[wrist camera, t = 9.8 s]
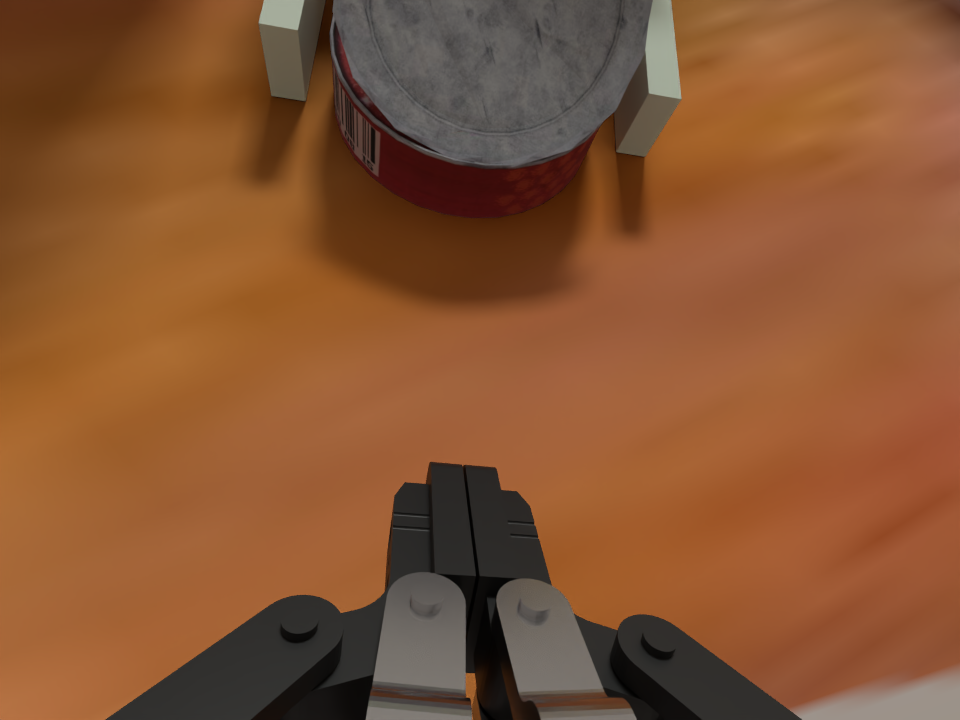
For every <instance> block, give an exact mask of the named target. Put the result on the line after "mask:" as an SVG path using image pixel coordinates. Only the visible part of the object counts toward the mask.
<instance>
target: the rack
mask: <svg viewBox="0 0 960 720" xmlns="http://www.w3.org/2000/svg"><path fill="white" fill-rule="evenodd" d="M325 1H326V0H264V3H263V7H262V11H261V15H260V19H259V29H260V34H261V40H262V46H263V51H264V57H265V62H266V68H267V74H268V79H269V85H270V91H271V96H276V97H282V98H288V99H294V100H300V101H306V97H307V92H308V87H309V82H310V77H311V72H312V67H313V62H314V57H315V52H316V47H317V42H318V37H319V31H320V26H321V21H322V16H323V11H324V6H325ZM680 101H681V90H680V81H679V71H678V62H677V53H676V43H675V34H674V24H673V15H672V6H671V0H653V2H652V7H651V12H650V17H649V23H648V31H647V39H646V47H645V55H644V56H643V58H642V60H641V62H640V64H639V66H638V68H637V69H636V71H635V73H634V75H633V77H632V79H631V81H630V82H629V84H628V86H627V89H626V91H625V93H624V95H623V97H622V99H621V101H620V103H619V105H618V107H617V109H616V111H615V112H614V122H615V141H616V152H618V153H624V154H631V155H637V156H643V157H645V156H646V155H647V153H648V152H649V150H650V148H651V147H652V145H653V144H654V142H655V140H656V139H657V137H658V136H659V134H660V132H661V131H662V129H663V128H664V126H665V125H666V123H667V121H668V120H669V118H670V117H671V115H672V113H673V112H674V110H675V109H676V107H677V105H678V104H679V102H680Z"/></svg>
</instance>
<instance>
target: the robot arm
mask: <svg viewBox="0 0 960 720" xmlns="http://www.w3.org/2000/svg"><path fill="white" fill-rule="evenodd" d="M465 673H475V677H476V692H475V696H474V701H473V706H472V707H471V700H470V698H466V694H465ZM472 714H473V720H802V719H800V718H799V717H798V716H796V715H795V714H794V713H792V712H791V711H790V710H788V709H787V708H786V707H784V706H783V705H782V704H780V703H779V702H778V701H776V700H775V699H773V698H772V697H771V696H769V695H768V694H767V693H765V692H764V691H763V690H761V689H760V688H759V687H757V686H756V685H755V684H753V683H752V682H750V681H749V680H748V679H746V678H745V677H744V676H742V675H741V674H740V673H738V672H737V671H736V670H734V669H733V668H732V667H730V666H729V665H727V664H726V663H725V662H723V661H722V660H721V659H719V658H718V657H717V656H715V655H714V654H713V653H711V652H710V651H709V650H707V649H706V648H704V647H703V646H702V645H700V644H699V643H698V642H696V641H695V640H694V639H692V638H691V637H690V636H688V635H687V634H686V633H684V632H683V631H681V630H680V629H679V628H677V627H676V626H674V625H673V624H671V623H670V622H668V621H666V620H664V619H661V618H659V617H655V616H651V615H633V616H630V617H628V618H626V619H624V620H623V621H622V622H621V624H620V626H619V628H618V630H615V629H612V628H608V627H605V626H602V625H599V624H596V623H593V622H590V621H587V620H585V619H583V618H581V617H579V616H577V615H575V614H574V613H573V611H572V608H571V606H570V604H569V602H568V600H567V599H566V598H565V596H564V595H563V594H562V593H561V592H560V591H559V590H557V589H556V588H554V587H553V586H552V585H551V581H550V577H549V574H548V570H547V566H546V563H545V559H544V556H543V552H542V548H541V545H540V541H539V539H538V534H537V530H536V527H535V526H534V519H533V516H532V512H531V508H530V506H529V505H528V504H527V502H526V501H525V500H524V499H523V498H522V497H521V495H520V494H519V493H518V492H517V491H505V490H501V487H500V483H499V478H498V473H497V469H496V468H495V467H483V466H472V465H464V466H462V465H459V464H448V463H437V462H430V463H429V467H428V473H427V480H426V484H419V483H406V482H405V483H404V484H403V486H402V487H401V488H400V489H399V491H398V492H397V493H396V495H395V497H394V504H393V512H392V520H391V527H390V535H389V543H388V550H387V565H386V580H385V592H384V594H383V595H382V596H381V597H380V598H379V599H377V600H376V601H375V602H373V603H372V604H370V605H368V606H366V607H363V608H361V609H357V610H354V611H349V612H344V613H340V611H339V610H338V609H337V608H336V607H335V606H334V605H333V604H332V603H330V602H329V601H327V600H325V599H323V598H320V597H316V596H311V595H296V596H290V597H287V598H283V599H281V600H278V601H276V602H274V603H273V604H271V605H270V606H268V607H267V608H265V609H264V610H262V611H261V612H259V613H258V614H257V615H255V616H254V617H252V618H251V619H249V620H248V621H247V622H245V623H244V624H242V625H241V626H239V627H238V628H236V629H235V630H234V631H232V632H231V633H229V634H228V635H226V636H225V637H224V638H222V639H221V640H219V641H218V642H216V643H215V644H213V645H212V646H211V647H209V648H208V649H206V650H205V651H203V652H202V653H201V654H199V655H198V656H196V657H195V658H193V659H192V660H190V661H189V662H188V663H186V664H185V665H183V666H182V667H180V668H179V669H178V670H176V671H175V672H173V673H172V674H170V675H169V676H167V677H166V678H165V679H163V680H162V681H160V682H159V683H157V684H156V685H155V686H153V687H152V688H150V689H149V690H147V691H146V692H144V693H143V694H142V695H140V696H139V697H137V698H136V699H134V700H133V701H132V702H130V703H129V704H127V705H126V706H124V707H123V708H121V709H120V710H119V711H117V712H116V713H114V714H113V715H111V716H110V717H109V718H107V719H106V720H472Z"/></svg>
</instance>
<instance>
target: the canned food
mask: <svg viewBox="0 0 960 720" xmlns="http://www.w3.org/2000/svg"><path fill="white" fill-rule="evenodd" d="M652 2H653V0H334V1H333V10H332V12H333V17H332V23H331V28H330V33H329V35H330V47H331V57H332V68H333V86H334V103H335V115H336V120H337V123H338V126H339V129H340V132H341V135H342V138H343V140H344V142H345V143H346V145H347V147H348V148H349V150H350V151H351V153H352V155H353V156H354V158H355V159H356V161H357V162H358V163H359V164H360V165H361V166H362V167H363V168H364V169H365V170H366V171H367V172H368V173H369V175H370V176H371V177H372V178H374V179H375V180H376V181H378V182H379V183H380V184H382V185H383V186H384V187H386V188H387V189H388V190H390V191H391V192H392V193H394V194H396V195H398V196H400V197H402V198H404V199H406V200H408V201H410V202H411V203H413V204H415V205H417V206H420V207H423V208H426V209H430V210H433V211H436V212H439V213H442V214H447V215H454V216H460V217H467V218H496V217H502V216H507V215H512V214H517V213H522V212H524V211H527V210H529V209H532V208H534V207H536V206H539V205H541V204H544V203H545V202H546V201H548V200H549V199H551V198H552V197H554V196H555V195H556V194H558V193H559V192H561V191H562V190H563V189H564V188H565V186H566V185H567V184H568V183H569V182H570V181H571V180H572V179H573V177H574V176H575V175H576V173H577V171H578V169H579V167H580V165H581V163H582V161H583V159H584V157H585V155H586V153H587V151H588V149H589V147H590V145H591V143H592V141H593V139H594V137H595V135H596V133H597V131H598V129H599V127H600V126H601V124H602V123H603V121H604V120H605V119H607V118H608V117H609V116H610V115H611V114H612V113H614V112H615V111H616V109H617V107H618V105H619V103H620V101H621V99H622V97H623V95H624V93H625V91H626V89H627V86H628V84H629V82H630V81H631V79H632V77H633V75H634V73H635V71H636V69H637V68H638V66H639V64H640V62H641V60H642V58H643V56H644V55H645V47H646V39H647V31H648V23H649V17H650V12H651V7H652Z"/></svg>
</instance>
